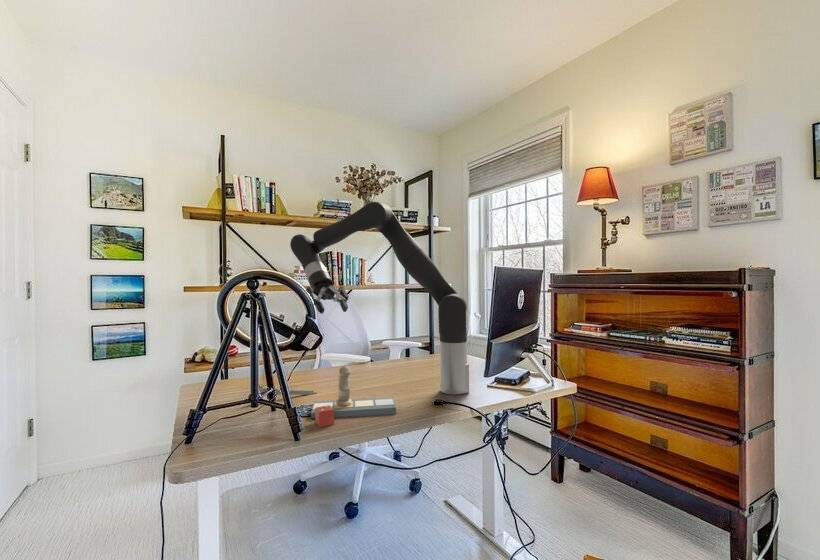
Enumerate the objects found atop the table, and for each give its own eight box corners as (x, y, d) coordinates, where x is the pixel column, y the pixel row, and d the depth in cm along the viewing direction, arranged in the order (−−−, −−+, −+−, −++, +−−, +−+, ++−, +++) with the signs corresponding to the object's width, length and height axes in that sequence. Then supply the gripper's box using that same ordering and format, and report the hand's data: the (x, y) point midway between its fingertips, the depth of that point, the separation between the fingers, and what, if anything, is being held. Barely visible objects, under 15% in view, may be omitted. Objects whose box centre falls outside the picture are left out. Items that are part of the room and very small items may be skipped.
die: (329, 419, 112) (329, 404, 112) (334, 424, 108) (333, 409, 108) (315, 422, 110) (315, 407, 110) (319, 427, 106) (319, 411, 106)
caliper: (255, 405, 126) (254, 385, 126) (254, 404, 127) (253, 384, 127) (317, 394, 137) (317, 375, 137) (316, 393, 138) (315, 375, 138)
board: (392, 403, 126) (392, 396, 126) (396, 413, 116) (396, 406, 116) (314, 407, 122) (314, 400, 122) (311, 419, 112) (310, 411, 112)
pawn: (351, 401, 121) (352, 364, 121) (350, 406, 117) (352, 367, 116) (336, 401, 121) (338, 364, 120) (335, 406, 116) (336, 367, 116)
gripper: (302, 269, 135) (318, 304, 127) (339, 269, 144) (357, 302, 135) (296, 285, 140) (311, 320, 131) (333, 284, 149) (349, 317, 140)
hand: (334, 311), depth 133 cm, fingers open, 8 cm apart
